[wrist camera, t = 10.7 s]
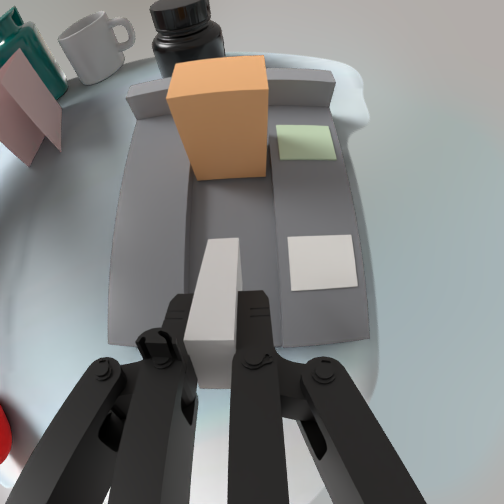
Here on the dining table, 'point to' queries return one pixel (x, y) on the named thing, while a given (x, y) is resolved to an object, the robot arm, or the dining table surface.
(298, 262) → the breaker housing
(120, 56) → the mug
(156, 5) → the ink bottle
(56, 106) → the greeting card
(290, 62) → the dining table surface
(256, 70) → the lever
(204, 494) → the dining table surface
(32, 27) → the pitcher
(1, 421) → the tomato
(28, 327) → the dining table surface
